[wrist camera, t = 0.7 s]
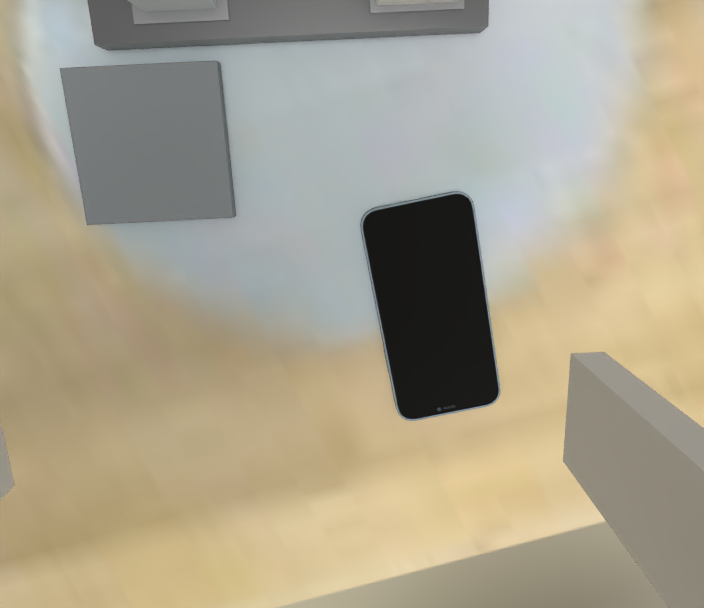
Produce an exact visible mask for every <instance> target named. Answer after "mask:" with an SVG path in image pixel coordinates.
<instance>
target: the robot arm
mask: <svg viewBox="0 0 704 608" xmlns="http://www.w3.org/2000/svg"><path fill="white" fill-rule="evenodd" d="M563 462H564V463H565V464H566V466H567V467H568V469H569V470H570V471H571V473H572V474H573V476H574V477H575V478H576V480H577V481H578V483H579V484H580V485H581V487H582V488H583V490H584V491H585V492H586V494H587V495H588V497H589V498H590V499H591V501H592V502H593V504H594V505H595V506H596V508H597V509H598V510H599V512H600V513H601V515H602V516H603V517H604V519H605V520H606V522H607V523H608V524H609V526H610V527H611V528H612V530H613V531H614V533H615V534H616V536H617V537H618V538H619V540H620V541H621V542H622V544H623V545H624V547H625V548H626V550H627V551H628V552H629V554H630V555H631V556H632V558H633V559H634V561H635V562H636V563H637V565H638V566H639V568H640V569H641V570H642V572H643V573H644V574H645V576H646V577H647V579H648V580H649V582H650V583H651V584H652V586H653V587H654V589H655V590H656V591H657V593H658V594H659V596H660V597H661V598H662V600H663V601H664V602H665V604H666V605H667V607H668V608H704V428H703V427H701V426H700V425H699V424H697V423H696V422H695V421H694V420H692V419H691V418H690V417H688V416H687V415H686V414H684V413H683V412H682V411H680V410H679V409H678V408H677V407H675V406H674V405H673V404H671V403H670V402H669V401H667V400H666V399H665V398H664V397H662V396H661V395H660V394H658V393H657V392H656V391H654V390H653V389H652V388H650V387H649V386H648V385H647V384H645V383H644V382H643V381H641V380H640V379H639V378H637V377H636V376H635V375H634V374H632V373H631V372H630V371H628V370H627V369H626V368H624V367H623V366H622V365H620V364H619V363H618V362H617V361H615V360H614V359H613V358H611V357H610V356H609V355H607V354H606V353H605V352H593V353H571V358H570V371H569V385H568V399H567V413H566V426H565V440H564V454H563ZM14 485H15V484H14V480H13V475H12V471H11V467H10V462H9V458H8V453H7V449H6V444H5V440H4V435H3V431H2V426H1V422H0V500H1V499H2V498H3V497H4V496H5V495H6V494H7V493H8V492H9V491H10V489H11V488H12V487H13V486H14Z"/></svg>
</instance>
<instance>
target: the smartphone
mask: <svg viewBox="0 0 704 608" xmlns="http://www.w3.org/2000/svg"><path fill="white" fill-rule="evenodd" d="M361 232H362V237H363V242H364V247H365V252H366V258H367V263H368V268H369V273H370V278H371V283H372V288H373V293H374V298H375V303H376V308H377V313H378V318H379V323H380V328H381V333H382V338H383V343H384V351H385V356H386V361H387V366H388V371H389V374H390V379H391V384H392V389H393V394H394V399H395V404H396V408H397V411H398V413H399V415H400V416H401V417H402V418H404V419H406V420H409V421H415V420H421V419H426V418H431V417H436V416H441V415H446V414H451V413H456V412H461V411H466V410H471V409H476V408H481V407H486V406H489V405H491V404H493V403H495V402H496V401H497V399H498V398H499V396H500V382H499V375H498V368H497V361H496V354H495V347H494V340H493V334H492V327H491V320H490V313H489V306H488V299H487V292H486V285H485V278H484V271H483V264H482V257H481V250H480V243H479V236H478V229H477V222H476V215H475V208H474V204H473V201H472V200H471V198H470V197H469V196H468V195H466V194H464V193H462V192H449V193H444V194H439V195H434V196H430V197H425V198H420V199H417V200H412V201H405V202H400V203H396V204H391V205H386V206H381V207H377V208H373V209H371V210H369V211H367V212H366V213H365V214H364V216H363V218H362V220H361Z"/></svg>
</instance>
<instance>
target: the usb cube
mask: <svg viewBox="0 0 704 608" xmlns="http://www.w3.org/2000/svg"><path fill="white" fill-rule="evenodd" d="M128 1H129V2H131V3H132V4H134V5H135V6H136V7H138V8H139V9H141V10H142V11H143V12H147V11H169V10H190V9H211V8H217V4H216V0H128Z"/></svg>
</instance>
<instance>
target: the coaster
mask: <svg viewBox="0 0 704 608" xmlns="http://www.w3.org/2000/svg"><path fill="white" fill-rule="evenodd" d="M60 73H61V78H62V84H63V90H64V96H65V101H66V107H67V113H68V118H69V124H70V130H71V136H72V141H73V147H74V153H75V159H76V164H77V170H78V176H79V182H80V187H81V193H82V199H83V204H84V210H85V216H86V222H87V225H95V224H115V223H134V222H153V221H173V220H192V219H212V218H231V217H234V216H236V212H235V203H234V193H233V183H232V173H231V164H230V154H229V144H228V135H227V125H226V115H225V106H224V96H223V86H222V76H221V67H220V63H219V62H218V61H200V62H179V63H158V64H137V65H116V66H95V67H75V68H60Z"/></svg>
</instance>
